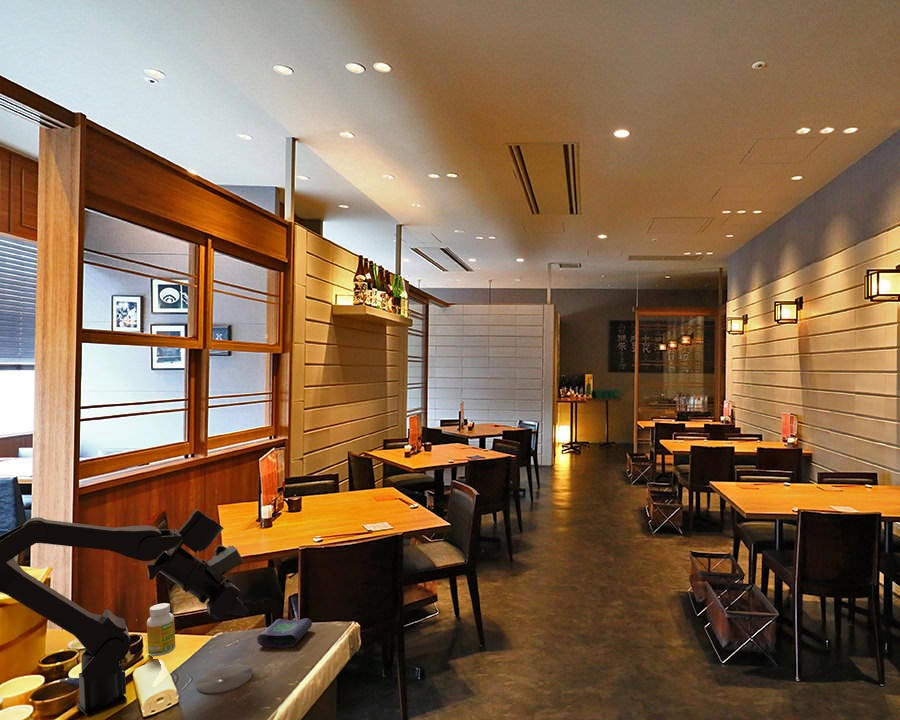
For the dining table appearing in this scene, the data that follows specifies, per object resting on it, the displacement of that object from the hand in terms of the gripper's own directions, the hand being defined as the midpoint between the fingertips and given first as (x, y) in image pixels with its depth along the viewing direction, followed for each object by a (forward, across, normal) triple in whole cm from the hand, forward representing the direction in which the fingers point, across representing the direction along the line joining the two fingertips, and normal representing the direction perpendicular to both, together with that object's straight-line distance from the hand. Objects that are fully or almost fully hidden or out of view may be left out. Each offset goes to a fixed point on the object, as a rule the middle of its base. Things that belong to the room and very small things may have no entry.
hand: (247, 613), depth 122 cm
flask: (+10, +1, +1) cm, 10 cm away
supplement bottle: (-3, +18, +17) cm, 25 cm away
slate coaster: (+2, -6, +11) cm, 13 cm away
